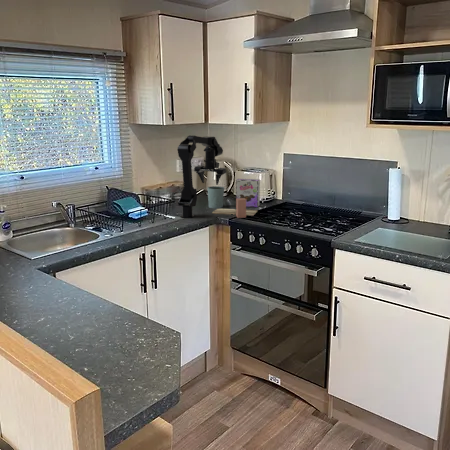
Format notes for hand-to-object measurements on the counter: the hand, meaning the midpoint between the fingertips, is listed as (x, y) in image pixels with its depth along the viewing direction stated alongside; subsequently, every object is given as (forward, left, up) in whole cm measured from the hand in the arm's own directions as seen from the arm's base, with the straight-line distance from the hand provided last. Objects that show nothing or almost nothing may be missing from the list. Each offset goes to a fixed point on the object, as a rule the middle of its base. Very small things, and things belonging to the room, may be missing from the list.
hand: (210, 183), depth 284 cm
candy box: (+11, -21, -15) cm, 28 cm away
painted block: (-20, -24, -15) cm, 34 cm away
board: (-10, -18, -15) cm, 25 cm away
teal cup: (+3, -3, -15) cm, 15 cm away
